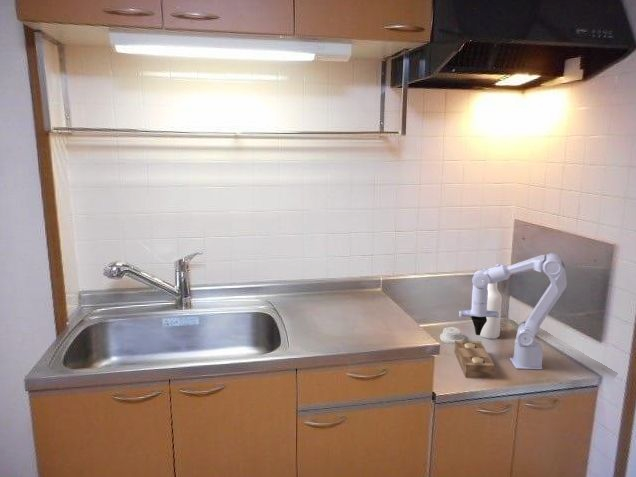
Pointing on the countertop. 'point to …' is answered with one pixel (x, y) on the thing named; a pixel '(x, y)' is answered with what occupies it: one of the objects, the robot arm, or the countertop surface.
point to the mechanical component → (451, 335)
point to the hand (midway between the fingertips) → (477, 334)
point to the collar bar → (468, 366)
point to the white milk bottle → (493, 304)
